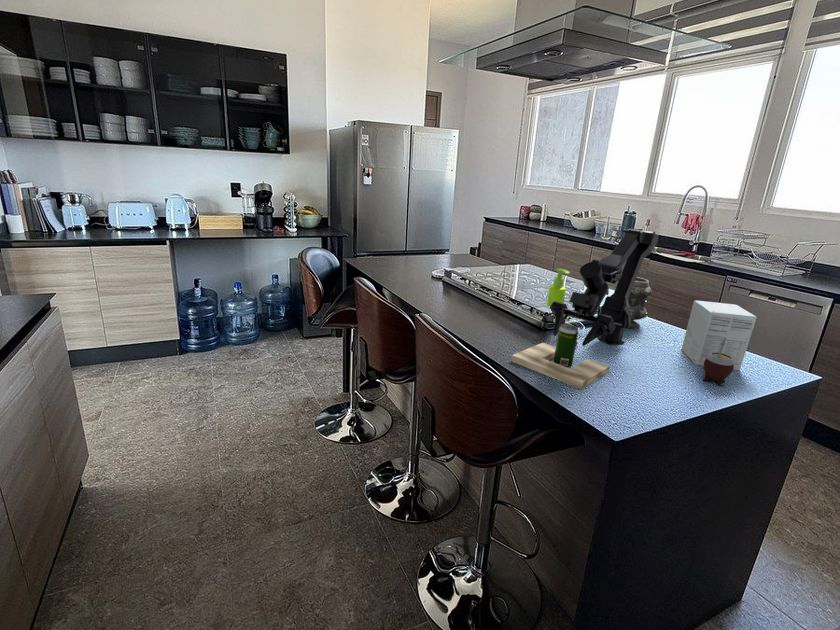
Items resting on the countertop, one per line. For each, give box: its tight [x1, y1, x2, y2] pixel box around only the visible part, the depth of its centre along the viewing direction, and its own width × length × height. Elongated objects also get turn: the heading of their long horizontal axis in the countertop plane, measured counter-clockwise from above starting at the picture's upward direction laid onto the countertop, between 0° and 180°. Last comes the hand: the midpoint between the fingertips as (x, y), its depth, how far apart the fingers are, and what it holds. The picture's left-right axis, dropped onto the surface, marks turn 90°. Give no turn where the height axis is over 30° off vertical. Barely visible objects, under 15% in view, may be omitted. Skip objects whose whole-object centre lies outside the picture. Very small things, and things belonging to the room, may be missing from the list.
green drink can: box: [552, 323, 579, 369], centre depth 133 cm, size 5×5×12 cm
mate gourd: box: [702, 338, 734, 387], centre depth 129 cm, size 8×8×15 cm
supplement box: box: [680, 300, 758, 371], centre depth 144 cm, size 13×13×18 cm
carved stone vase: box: [628, 277, 652, 330], centre depth 173 cm, size 12×12×18 cm
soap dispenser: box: [546, 268, 571, 306], centre depth 171 cm, size 6×7×20 cm
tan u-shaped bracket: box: [511, 342, 611, 390], centre depth 134 cm, size 17×22×2 cm
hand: (568, 340), depth 133 cm, fingers open, 9 cm apart
